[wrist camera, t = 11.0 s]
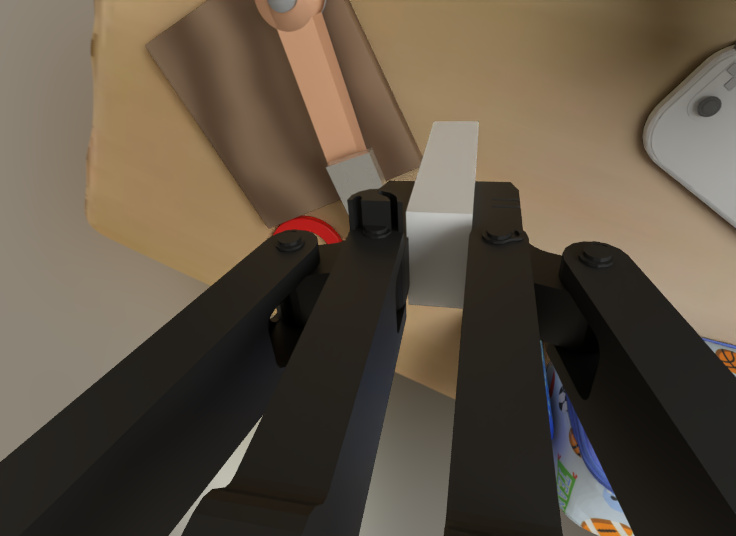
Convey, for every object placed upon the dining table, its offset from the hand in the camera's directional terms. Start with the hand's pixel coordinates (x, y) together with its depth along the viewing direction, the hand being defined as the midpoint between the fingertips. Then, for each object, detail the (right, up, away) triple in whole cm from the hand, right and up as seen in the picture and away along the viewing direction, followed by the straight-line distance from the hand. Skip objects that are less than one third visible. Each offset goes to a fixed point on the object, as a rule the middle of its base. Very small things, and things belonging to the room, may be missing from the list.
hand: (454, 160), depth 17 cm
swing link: (-7, +12, +23) cm, 27 cm away
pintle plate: (-10, +12, +27) cm, 31 cm away
